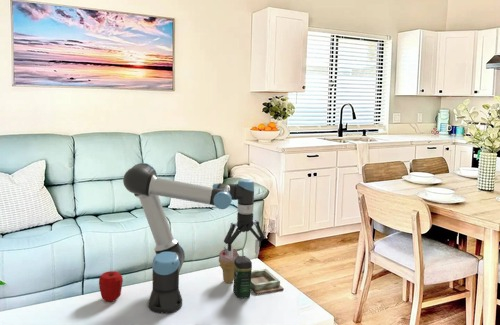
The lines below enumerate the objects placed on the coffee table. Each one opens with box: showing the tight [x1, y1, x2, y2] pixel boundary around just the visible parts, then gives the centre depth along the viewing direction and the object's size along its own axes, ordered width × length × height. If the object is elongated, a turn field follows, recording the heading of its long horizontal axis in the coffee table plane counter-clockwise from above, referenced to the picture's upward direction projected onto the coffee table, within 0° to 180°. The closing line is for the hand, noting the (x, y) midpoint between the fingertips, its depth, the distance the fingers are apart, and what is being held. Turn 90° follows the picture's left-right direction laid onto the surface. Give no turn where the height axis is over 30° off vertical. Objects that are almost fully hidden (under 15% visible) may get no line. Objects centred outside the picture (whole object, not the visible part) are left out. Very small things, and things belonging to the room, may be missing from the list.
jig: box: [251, 268, 285, 296], centre depth 220 cm, size 15×22×4 cm
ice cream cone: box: [218, 247, 240, 284], centre depth 219 cm, size 11×11×20 cm
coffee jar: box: [232, 255, 253, 299], centre depth 206 cm, size 10×8×19 cm
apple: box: [98, 270, 124, 303], centre depth 196 cm, size 10×10×14 cm
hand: (244, 255), depth 204 cm, fingers open, 13 cm apart
